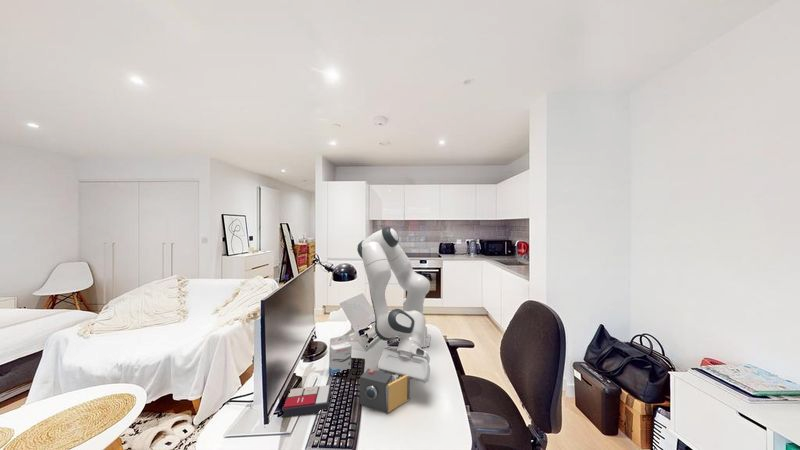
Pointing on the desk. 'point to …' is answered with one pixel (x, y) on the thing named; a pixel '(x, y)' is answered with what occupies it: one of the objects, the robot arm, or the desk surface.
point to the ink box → (339, 354)
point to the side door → (397, 393)
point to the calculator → (306, 401)
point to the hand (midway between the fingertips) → (397, 389)
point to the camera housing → (374, 389)
